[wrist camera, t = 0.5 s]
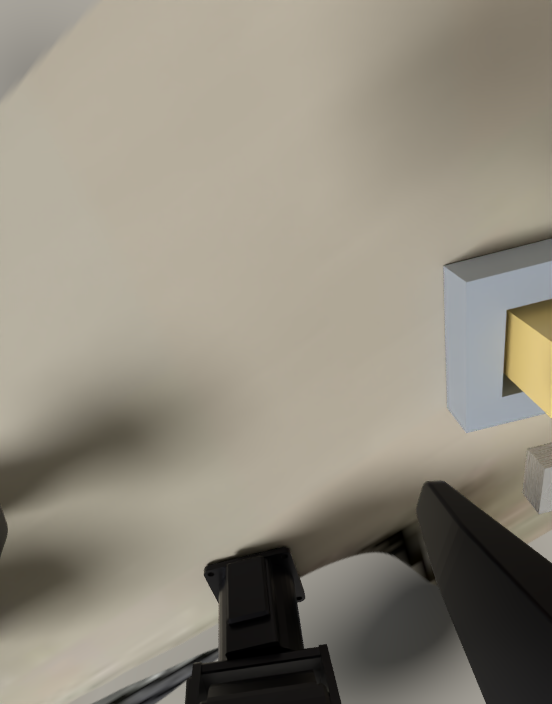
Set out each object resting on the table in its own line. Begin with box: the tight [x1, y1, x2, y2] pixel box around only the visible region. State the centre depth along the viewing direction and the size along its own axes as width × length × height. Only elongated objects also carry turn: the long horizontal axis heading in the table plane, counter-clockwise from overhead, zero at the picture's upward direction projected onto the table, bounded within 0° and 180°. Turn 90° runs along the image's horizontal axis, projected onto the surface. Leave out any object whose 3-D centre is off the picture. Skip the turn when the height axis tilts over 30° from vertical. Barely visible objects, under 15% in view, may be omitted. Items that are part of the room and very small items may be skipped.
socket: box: [444, 238, 552, 433], centre depth 23 cm, size 9×9×2 cm
